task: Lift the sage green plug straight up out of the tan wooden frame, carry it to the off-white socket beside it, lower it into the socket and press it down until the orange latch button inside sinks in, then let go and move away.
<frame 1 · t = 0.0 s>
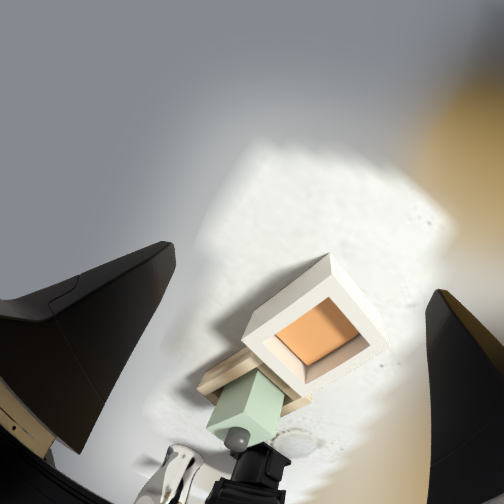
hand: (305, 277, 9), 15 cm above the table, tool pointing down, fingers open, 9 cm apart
socket: (318, 314, 26), on the table
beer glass: (186, 454, 39), on the table
plug: (257, 378, 30), resting in tan wooden frame
tan wooden frame: (257, 379, 30), on the table
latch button: (317, 328, 24), point 2 cm above the table, slide at 0.0 cm
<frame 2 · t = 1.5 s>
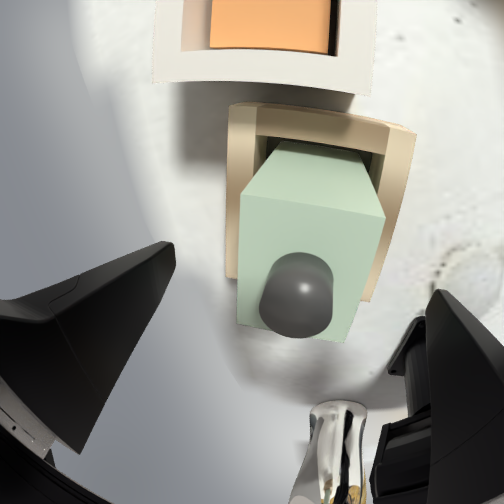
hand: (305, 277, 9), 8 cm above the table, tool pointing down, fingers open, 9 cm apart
socket: (281, 4, 11), on the table
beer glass: (338, 411, 27), on the table
plug: (314, 190, 16), resting in tan wooden frame
tan wooden frame: (314, 190, 16), on the table
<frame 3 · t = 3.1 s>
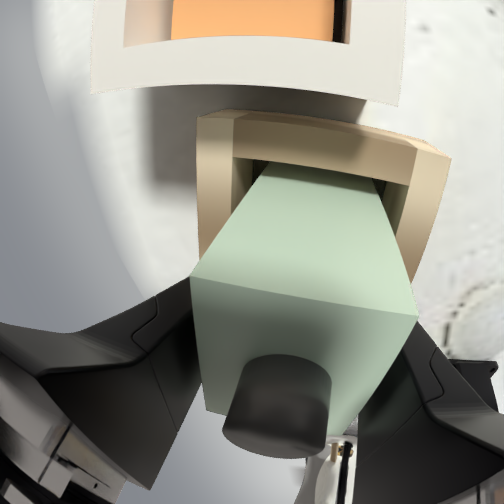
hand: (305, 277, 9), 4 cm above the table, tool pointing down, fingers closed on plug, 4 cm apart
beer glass: (336, 443, 24), on the table
plug: (312, 222, 13), resting in tan wooden frame, touching gripper
tan wooden frame: (312, 222, 13), on the table
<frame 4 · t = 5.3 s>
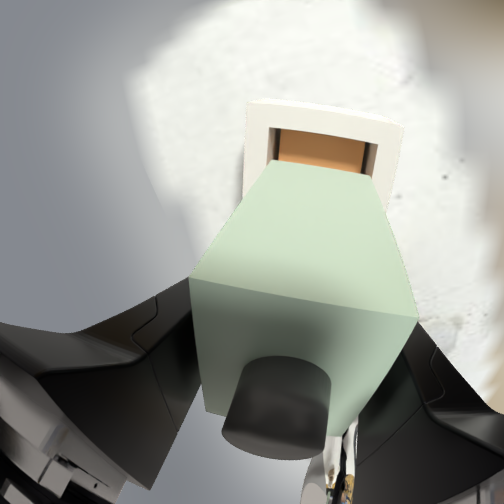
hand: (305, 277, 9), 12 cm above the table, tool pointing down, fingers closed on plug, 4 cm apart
socket: (318, 169, 19), on the table
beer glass: (338, 418, 36), on the table
plug: (312, 222, 13), point 8 cm above the table, touching gripper
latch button: (317, 180, 17), point 2 cm above the table, slide at 0.0 cm
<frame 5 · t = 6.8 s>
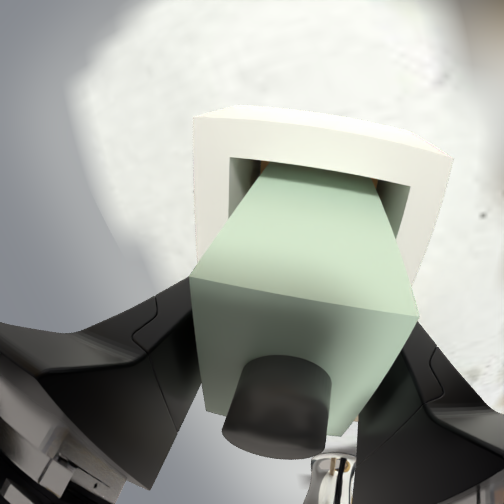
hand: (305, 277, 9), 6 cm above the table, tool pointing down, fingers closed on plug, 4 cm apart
socket: (314, 205, 14), on the table
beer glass: (334, 458, 30), on the table
plug: (312, 222, 13), point 2 cm above the table, touching gripper, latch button
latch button: (313, 216, 13), point 1 cm above the table, slide at 1.2 cm, touching plug
when the fingers open (6 cm above the table, at t = 7.8 s): plug stays where it is, resting on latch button.
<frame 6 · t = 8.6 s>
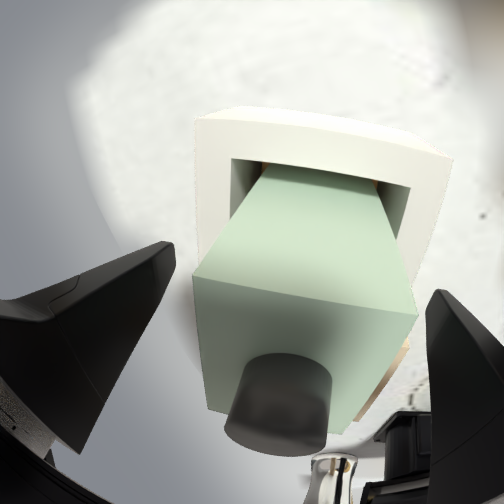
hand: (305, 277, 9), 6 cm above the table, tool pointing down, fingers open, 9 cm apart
socket: (315, 205, 14), on the table
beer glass: (334, 458, 30), on the table
plug: (313, 222, 13), point 2 cm above the table, touching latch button
tan wooden frame: (325, 349, 19), on the table
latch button: (313, 216, 13), point 1 cm above the table, slide at 1.2 cm, touching plug
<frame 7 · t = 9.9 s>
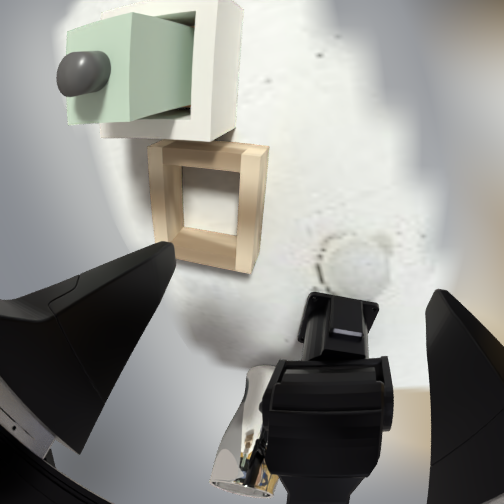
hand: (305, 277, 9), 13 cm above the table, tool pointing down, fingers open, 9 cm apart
socket: (185, 67, 18), on the table
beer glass: (271, 377, 35), on the table
plug: (174, 67, 16), point 2 cm above the table, touching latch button
tan wooden frame: (214, 195, 23), on the table
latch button: (178, 66, 17), point 1 cm above the table, slide at 1.2 cm, touching plug
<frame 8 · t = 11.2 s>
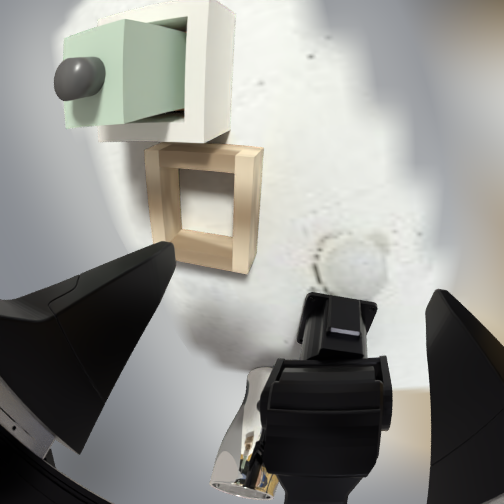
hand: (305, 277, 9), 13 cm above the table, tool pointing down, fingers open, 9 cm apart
socket: (181, 71, 18), on the table
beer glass: (271, 379, 34), on the table
plug: (169, 72, 17), point 2 cm above the table, touching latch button
tan wooden frame: (210, 197, 23), on the table
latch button: (173, 71, 17), point 1 cm above the table, slide at 1.2 cm, touching plug
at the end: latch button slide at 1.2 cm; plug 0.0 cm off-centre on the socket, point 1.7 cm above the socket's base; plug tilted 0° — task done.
